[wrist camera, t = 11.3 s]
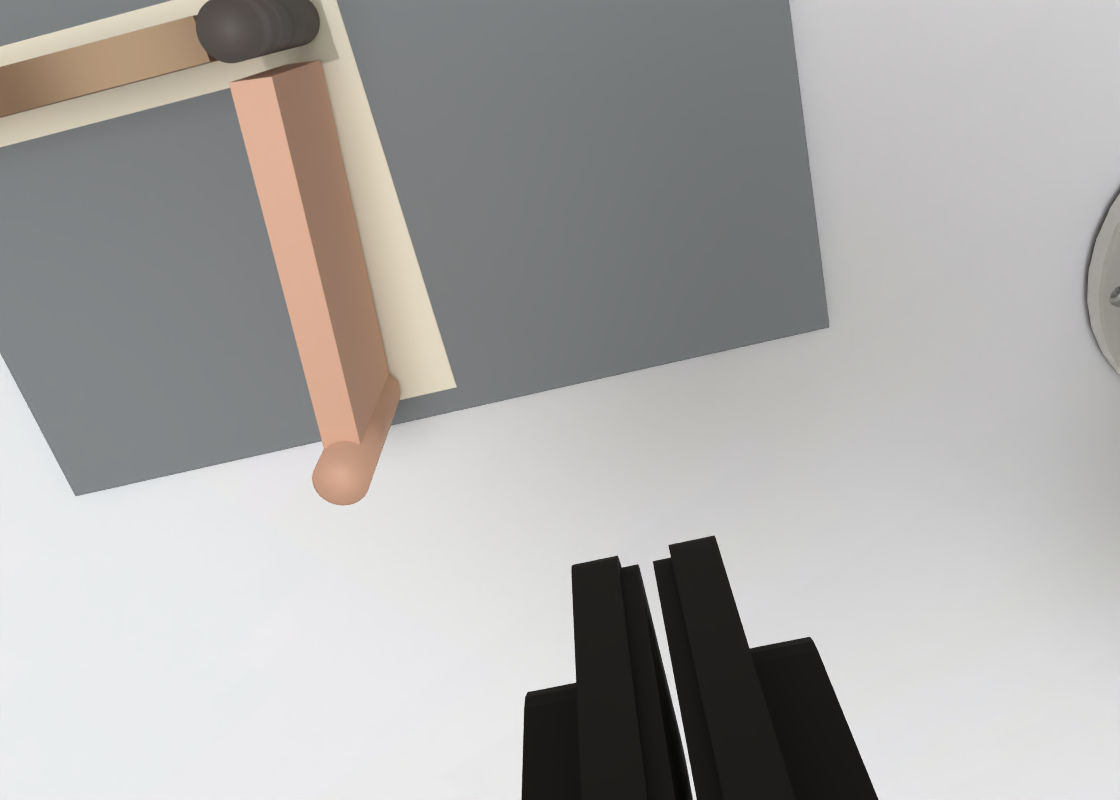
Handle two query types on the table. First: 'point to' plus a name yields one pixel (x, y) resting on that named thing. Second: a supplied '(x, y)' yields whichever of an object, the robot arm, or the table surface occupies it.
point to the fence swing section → (320, 269)
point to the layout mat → (402, 216)
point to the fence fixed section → (159, 51)
